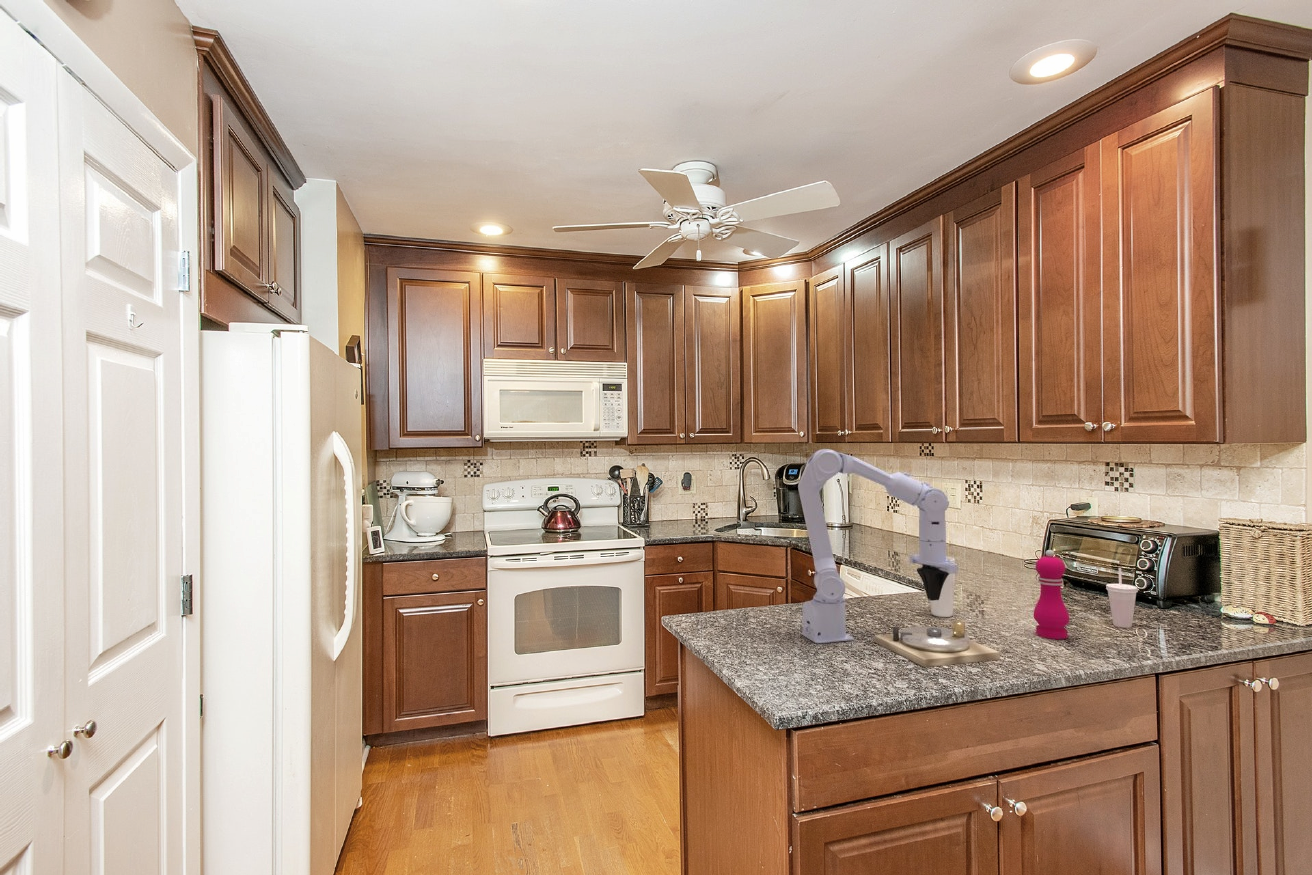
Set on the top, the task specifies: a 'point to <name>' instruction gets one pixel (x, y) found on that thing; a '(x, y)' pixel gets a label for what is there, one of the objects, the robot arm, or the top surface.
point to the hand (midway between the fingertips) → (933, 599)
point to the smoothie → (1122, 602)
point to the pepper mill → (1051, 598)
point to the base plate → (933, 657)
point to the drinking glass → (945, 597)
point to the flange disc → (936, 638)
